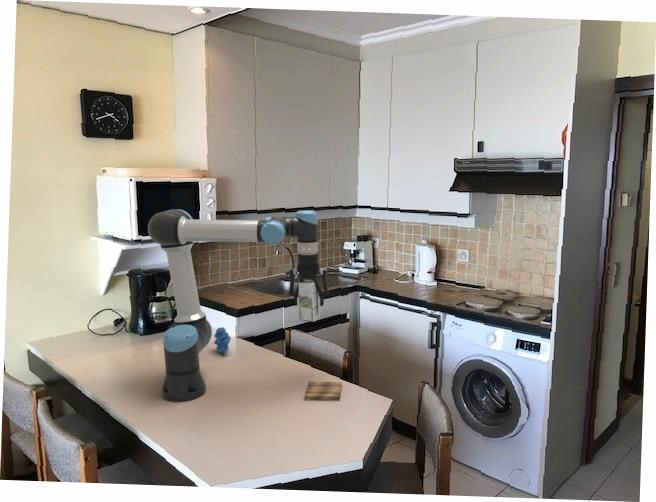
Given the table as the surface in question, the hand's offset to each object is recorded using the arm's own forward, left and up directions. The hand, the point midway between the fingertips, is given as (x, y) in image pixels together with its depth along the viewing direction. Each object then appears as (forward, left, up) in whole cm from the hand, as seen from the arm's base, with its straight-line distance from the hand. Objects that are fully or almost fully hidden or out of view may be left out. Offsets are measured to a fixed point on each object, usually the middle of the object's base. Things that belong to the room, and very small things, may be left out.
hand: (309, 314), depth 194 cm
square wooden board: (+6, -13, -25) cm, 29 cm away
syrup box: (0, 0, -2) cm, 2 cm away
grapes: (-41, +25, -25) cm, 54 cm away
